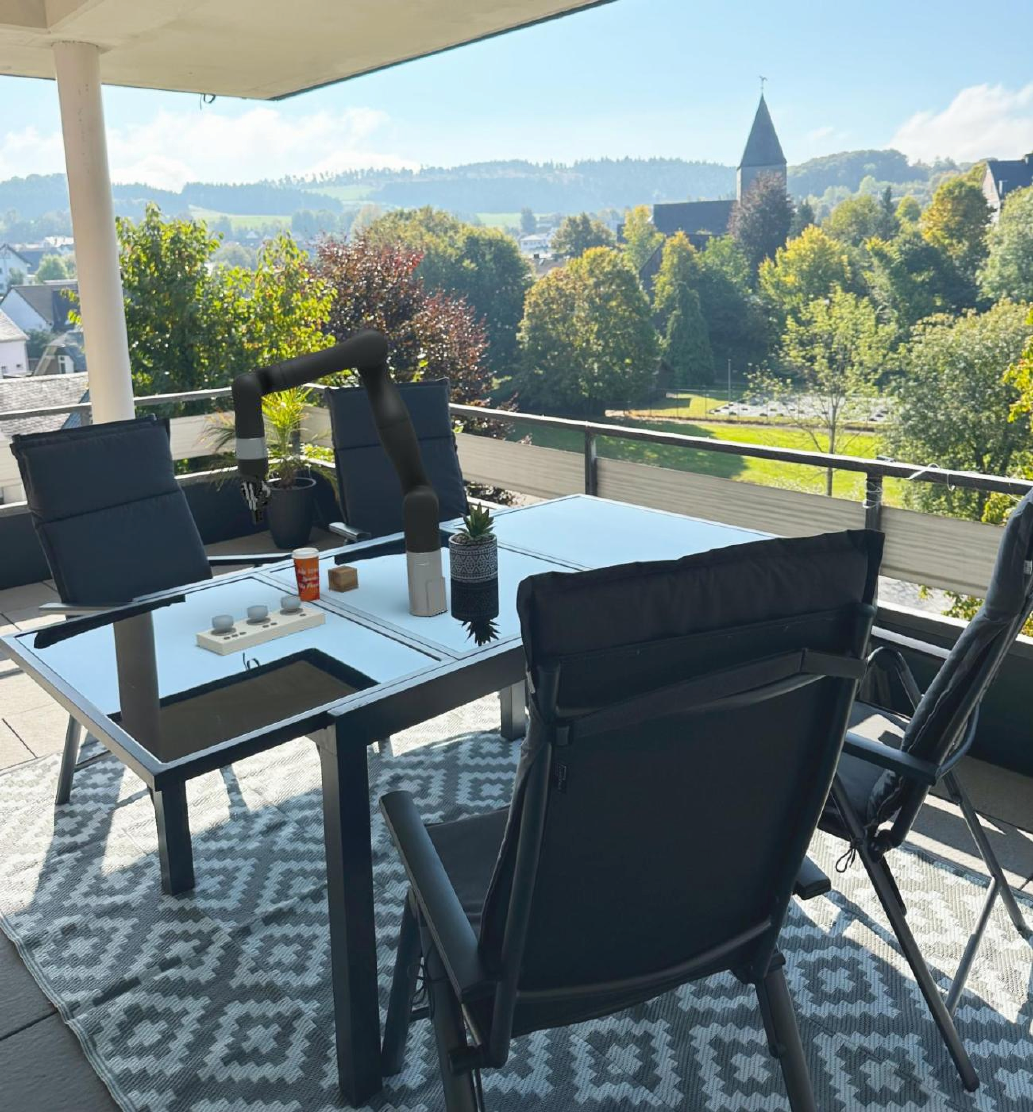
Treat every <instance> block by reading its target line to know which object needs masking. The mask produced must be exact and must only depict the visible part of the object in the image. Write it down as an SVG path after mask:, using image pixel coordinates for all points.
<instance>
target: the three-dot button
mask: <svg viewBox="0 0 1033 1112" xmlns="http://www.w3.org/2000/svg"><path fill="white" fill-rule="evenodd" d="M233 618H234V617H233V615H230V614H220V615H216V616H214V617H212V618H211V625H212V629H226V628H230V627H232V626H233V625H234V624H233V623H234V619H233Z"/></svg>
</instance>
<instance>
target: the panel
mask: <svg viewBox="0 0 1033 1112" xmlns="http://www.w3.org/2000/svg"><path fill="white" fill-rule="evenodd" d="M325 615H326V613H325V612H324V611H322V610H318V609H314V608H311V607H308V606H304V605H301V606H300V607H297V608H293V609H283V608H279V609H277V610H272V611H269V612H268V616H266V617H264V618H259V619H251V618H248V617H247V618H245V619H242V620H238V621H235V622H233V624H234V625H233V626H232V627H230V628H226V629H214V628H211V629H207V630H205V631H200V632H198V633H195V637H196V644H197V646H199V647H201V648H204V649H206V650H209V651H211V652H212V653H213V652H214V653H216V654H218V655H221V656H226V655H229V654H233V653H236V652H239V651H242V650H245V649H248V648H252V647H255V646H254V645H256V646H258V644H259V645H262V644H263V643H262V642H265V641H268V642H270V641H269V640H271V641H273V640H272V639H274V638H278V639H280V638H279V637H281V636H284V635H286V634H290V635H293V634H292V633H294V632H297V631H300V630H303V631H306V630H309V629H311V628H310V627H313V626H316V627H318V625H319V626H321V625H320V624H322V625H324V624H323V623H325V624H326V616H325ZM308 628H309V629H308ZM313 628H314V627H313ZM305 629H306V630H305ZM300 632H301V631H300ZM297 633H298V632H297ZM294 634H295V633H294ZM284 637H285V636H284ZM281 638H282V637H281ZM261 643H262V644H261ZM265 643H266V642H265ZM251 646H252V647H251Z"/></svg>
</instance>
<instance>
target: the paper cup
mask: <svg viewBox="0 0 1033 1112" xmlns="http://www.w3.org/2000/svg"><path fill="white" fill-rule="evenodd" d="M320 555H321V553H320V552H319V550H318V549H317V548H315V547H302V548H297V549H294V550H293V551H292V554H291V558H292V559H293V561H292V562H293V566H294V575H295V580H296V585H297V586H296V587H297V592H298V593H297V594H298V596H299V597H300V602H314V600H315V601H317V599H318V600H319V599H320V592H321V591H320V588H321V587H320V562H319V561H320V559H319V556H320Z"/></svg>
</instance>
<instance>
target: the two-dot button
mask: <svg viewBox="0 0 1033 1112" xmlns="http://www.w3.org/2000/svg"><path fill="white" fill-rule="evenodd" d="M246 611H247V619H248V618H251V619H259V618H264V617H266V616H268V613H269V612H268V606H267V605H263V604H258V605H256V604H255V605H252V606H250V607H247V608H246Z"/></svg>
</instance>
